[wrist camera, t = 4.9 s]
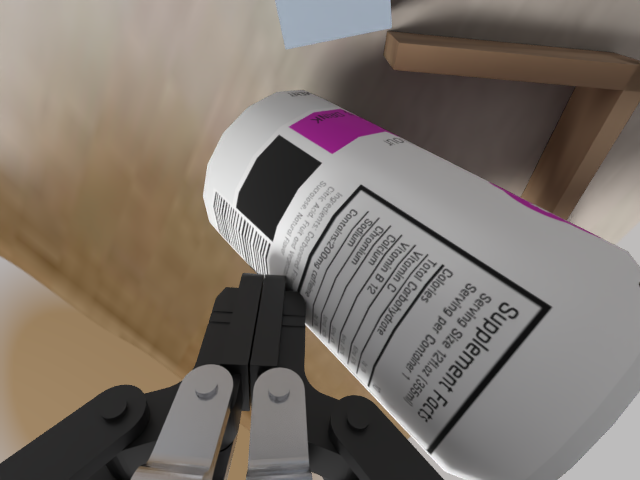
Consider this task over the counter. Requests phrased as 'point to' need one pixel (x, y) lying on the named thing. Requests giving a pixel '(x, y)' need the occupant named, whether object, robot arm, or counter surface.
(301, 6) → the slate-blue block
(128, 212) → the counter surface
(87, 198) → the counter surface
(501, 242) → the supplement can
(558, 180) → the frame
